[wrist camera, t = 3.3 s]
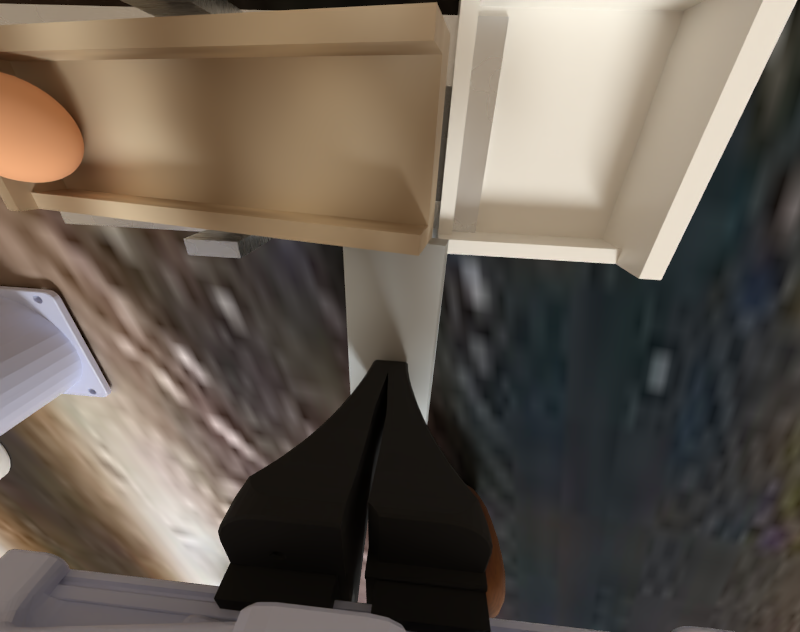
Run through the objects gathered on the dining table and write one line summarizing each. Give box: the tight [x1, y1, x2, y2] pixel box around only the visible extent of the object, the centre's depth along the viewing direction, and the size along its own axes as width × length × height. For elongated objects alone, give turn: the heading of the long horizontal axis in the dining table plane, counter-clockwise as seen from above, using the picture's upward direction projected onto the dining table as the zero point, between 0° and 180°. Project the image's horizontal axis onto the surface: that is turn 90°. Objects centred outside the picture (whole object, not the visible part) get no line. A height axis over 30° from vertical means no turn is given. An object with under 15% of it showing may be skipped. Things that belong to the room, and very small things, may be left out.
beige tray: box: [0, 2, 450, 424], centre depth 12 cm, size 17×15×3 cm
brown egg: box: [0, 72, 84, 183], centre depth 10 cm, size 3×3×3 cm
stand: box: [0, 0, 509, 258], centre depth 12 cm, size 20×8×4 cm, turn 88°
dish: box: [437, 0, 797, 280], centre depth 11 cm, size 8×9×4 cm
